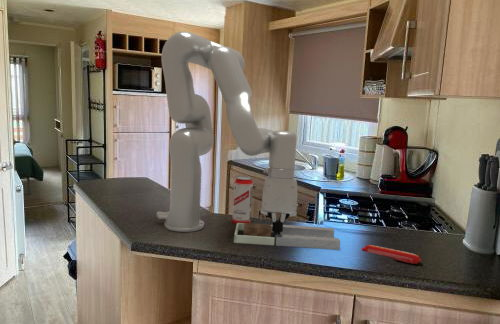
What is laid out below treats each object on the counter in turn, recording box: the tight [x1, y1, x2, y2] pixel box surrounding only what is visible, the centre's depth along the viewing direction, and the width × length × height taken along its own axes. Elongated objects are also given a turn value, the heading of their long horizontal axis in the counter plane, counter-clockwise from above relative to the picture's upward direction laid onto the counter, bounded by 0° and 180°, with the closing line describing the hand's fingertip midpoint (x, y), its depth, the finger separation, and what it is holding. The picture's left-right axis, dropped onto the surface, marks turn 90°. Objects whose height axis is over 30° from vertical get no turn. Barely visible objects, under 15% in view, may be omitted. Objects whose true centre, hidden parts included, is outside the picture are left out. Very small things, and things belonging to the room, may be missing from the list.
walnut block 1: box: [243, 222, 259, 236], centre depth 117 cm, size 4×4×4 cm
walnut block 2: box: [257, 223, 272, 237], centre depth 118 cm, size 4×4×4 cm
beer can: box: [231, 175, 254, 225], centre depth 131 cm, size 6×6×16 cm
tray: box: [233, 223, 276, 246], centre depth 118 cm, size 12×12×3 cm
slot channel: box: [274, 224, 341, 251], centre depth 118 cm, size 18×12×4 cm, turn 88°
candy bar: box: [361, 244, 423, 265], centre depth 110 cm, size 16×4×3 cm, turn 63°
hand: (277, 233), depth 118 cm, fingers closed
